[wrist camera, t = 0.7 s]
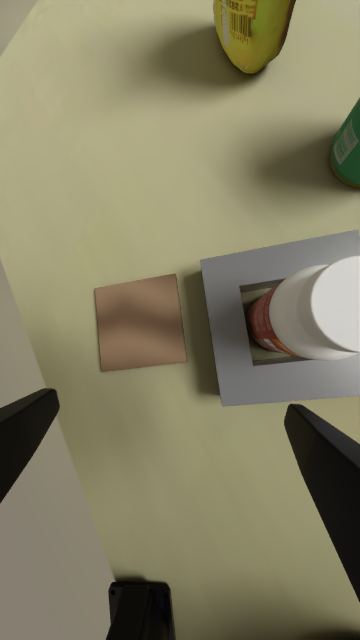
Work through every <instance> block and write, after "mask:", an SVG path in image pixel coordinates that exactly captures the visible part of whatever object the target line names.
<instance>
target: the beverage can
mask: <svg viewBox="0 0 360 640" xmlns="http://www.w3.org/2000/svg"><path fill="white" fill-rule="evenodd" d="M330 164H331V168H332V170H333V172H334V174H335V175H336V177H337V178H339V179H340V180H341V181H342V182H344V183H345V184H347V185H350V186H353V187H357V188H360V98H359V100H358V101H357V103H356V104H355V106H354V107H353V109H352V111H351V112H350V114H349V115H348V117H347V119H346V120H345V122H344V123H343V125H342V126H341V128H340V130H339V131H338V133H337V135H336V136H335V138H334V141H333V145H332V152H331V157H330Z"/></svg>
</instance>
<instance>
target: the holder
mask: <svg viewBox="0 0 360 640" xmlns="http://www.w3.org/2000/svg"><path fill="white" fill-rule="evenodd" d="M352 256H360V236H359V233H358V230H353V231H348V232H343V233H338V234H333V235H327V236H322V237H317V238H312V239H306V240H301V241H296V242H291V243H286V244H280V245H275V246H270V247H265V248H260V249H254V250H249V251H244V252H239V253H233V254H228V255H223V256H218V257H213V258H207V259H202V260H200V262H201V271H202V278H203V285H204V291H205V298H206V305H207V311H208V318H209V325H210V331H211V338H212V345H213V351H214V358H215V365H216V371H217V378H218V385H219V392H220V398H221V403H222V407H223V406H235V405H248V404H261V403H274V402H286V401H299V400H312V399H324V398H337V397H350V396H360V353H357V354H355V355H353V356H351V357H348V358H345V359H340V360H334V361H321V360H312V359H308V358H303V357H298V356H294V357H285V358H276V359H267V360H258V361H252V357H251V351H250V345H249V339H248V334H247V328H246V322H245V316H244V310H243V305H242V299H241V293H240V292H246V291H252V290H258V289H265V288H271V287H275V286H276V285H278V284H279V283H280V282H282V281H283V280H284V279H286V278H287V277H289V276H290V275H292V274H294V273H296V272H298V271H300V270H302V269H305V268H307V267H311V266H316V265H330V264H332V263H334V262H336V261H338V260H341V259H344V258H348V257H352Z"/></svg>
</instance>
